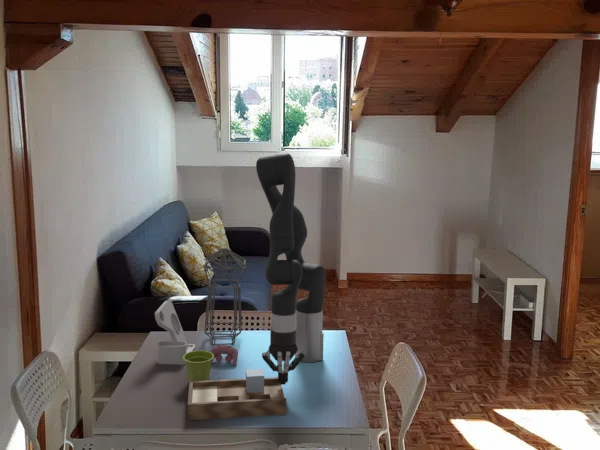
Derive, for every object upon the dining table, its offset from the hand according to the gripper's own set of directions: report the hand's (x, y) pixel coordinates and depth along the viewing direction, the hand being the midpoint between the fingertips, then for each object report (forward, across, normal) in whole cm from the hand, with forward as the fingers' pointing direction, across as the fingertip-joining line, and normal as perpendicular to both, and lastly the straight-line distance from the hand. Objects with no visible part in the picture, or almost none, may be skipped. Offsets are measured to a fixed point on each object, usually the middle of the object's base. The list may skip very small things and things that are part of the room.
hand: (282, 383), depth 180 cm
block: (+1, +8, 0) cm, 8 cm away
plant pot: (+4, +25, -13) cm, 28 cm away
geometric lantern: (+4, +16, -49) cm, 52 cm away
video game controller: (+4, +17, -28) cm, 33 cm away
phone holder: (+4, +33, -37) cm, 50 cm away
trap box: (+4, +13, +4) cm, 14 cm away
